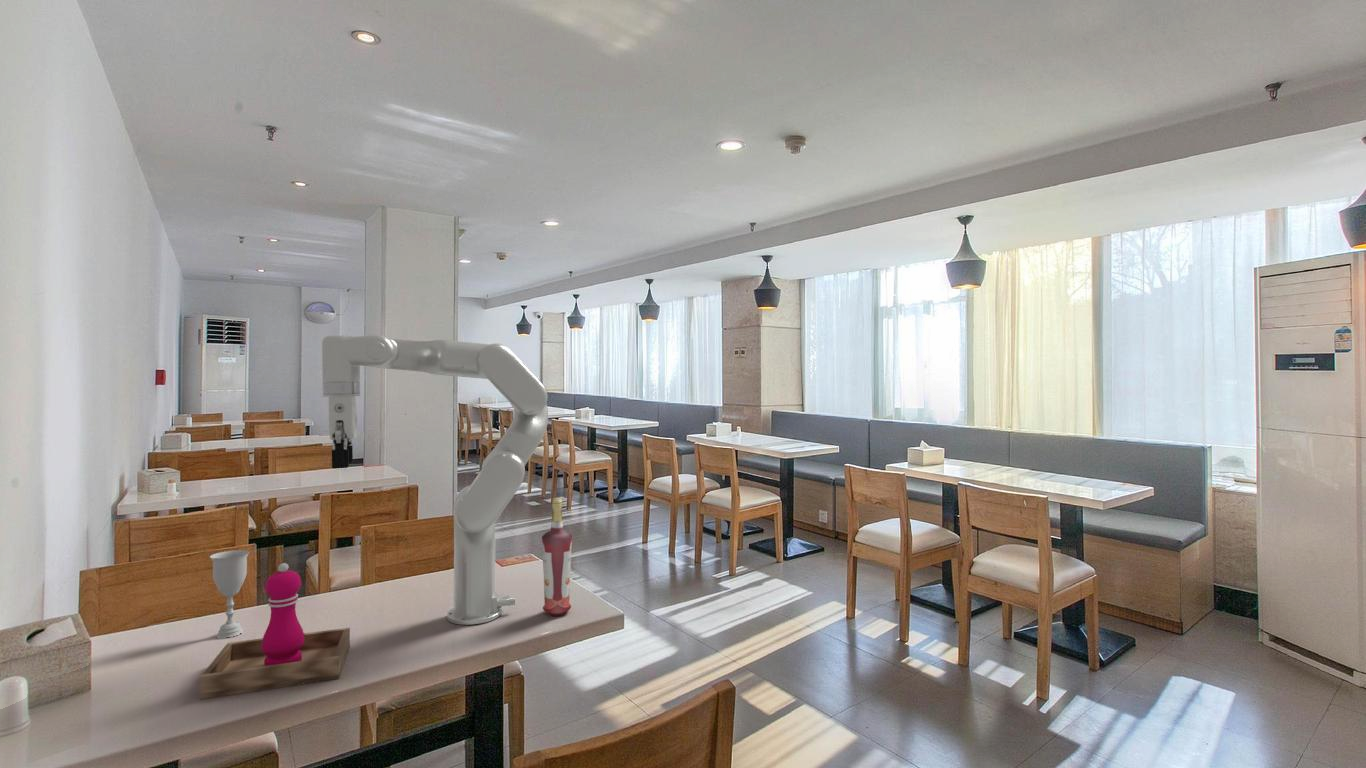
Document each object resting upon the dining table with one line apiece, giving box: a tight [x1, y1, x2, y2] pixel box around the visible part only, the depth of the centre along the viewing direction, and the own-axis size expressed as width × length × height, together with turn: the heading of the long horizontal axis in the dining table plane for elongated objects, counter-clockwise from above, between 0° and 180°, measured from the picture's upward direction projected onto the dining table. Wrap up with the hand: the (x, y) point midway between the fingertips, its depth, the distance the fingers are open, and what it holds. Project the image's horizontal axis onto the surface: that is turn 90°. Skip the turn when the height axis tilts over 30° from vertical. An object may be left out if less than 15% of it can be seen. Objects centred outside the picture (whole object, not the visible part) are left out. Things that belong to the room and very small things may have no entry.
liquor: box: [541, 497, 573, 617], centre depth 156 cm, size 7×7×28 cm
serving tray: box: [199, 627, 351, 700], centre depth 125 cm, size 22×16×4 cm
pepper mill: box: [261, 562, 305, 666], centre depth 125 cm, size 7×7×20 cm
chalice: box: [209, 549, 250, 639], centre depth 143 cm, size 7×7×18 cm
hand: (342, 465), depth 144 cm, fingers open, 9 cm apart
